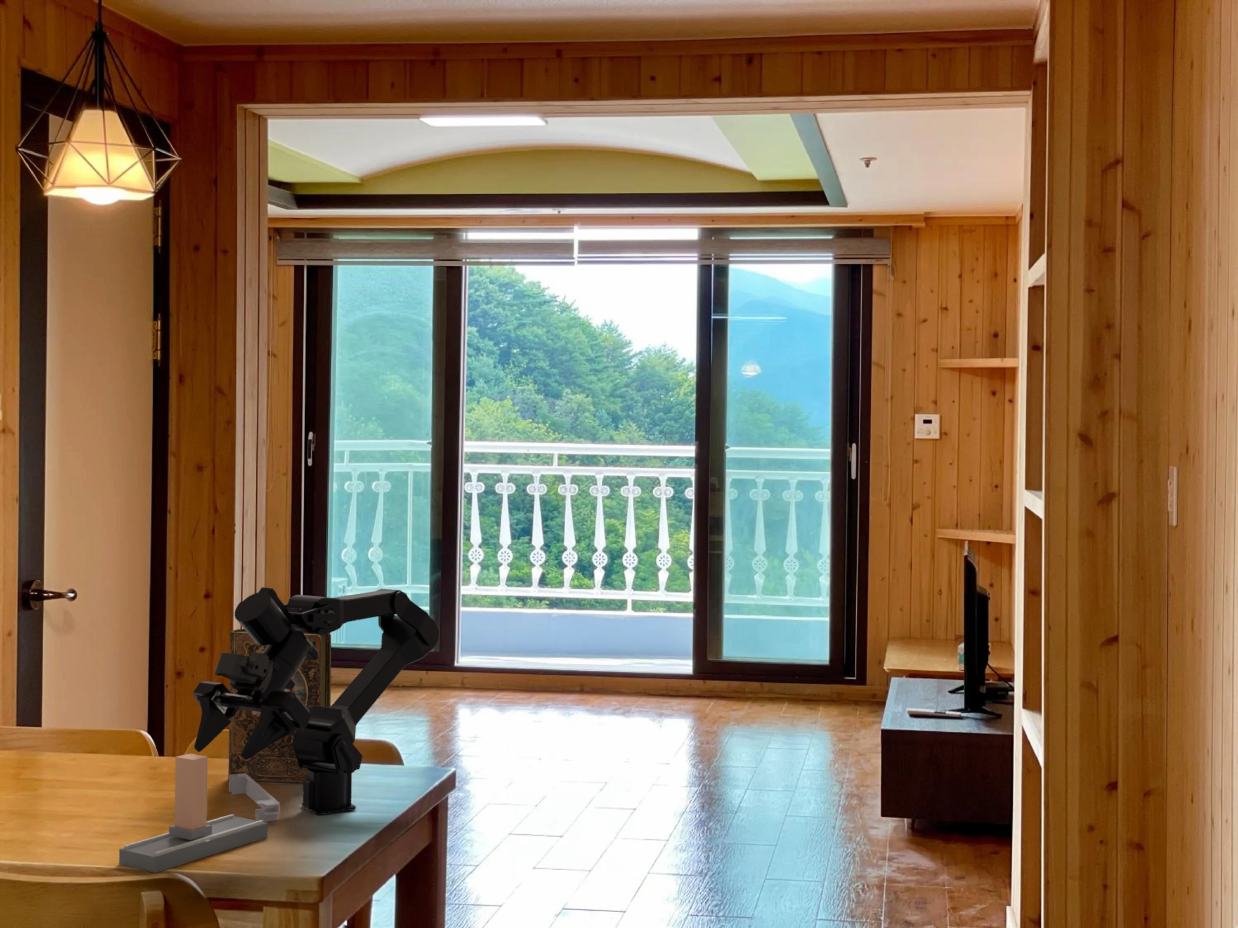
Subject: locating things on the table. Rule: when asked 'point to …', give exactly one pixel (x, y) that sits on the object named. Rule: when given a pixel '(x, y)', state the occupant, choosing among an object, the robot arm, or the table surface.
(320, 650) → the book
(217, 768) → the table surface
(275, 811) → the door handle
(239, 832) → the grey slider rail base
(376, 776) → the table surface
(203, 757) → the fader
